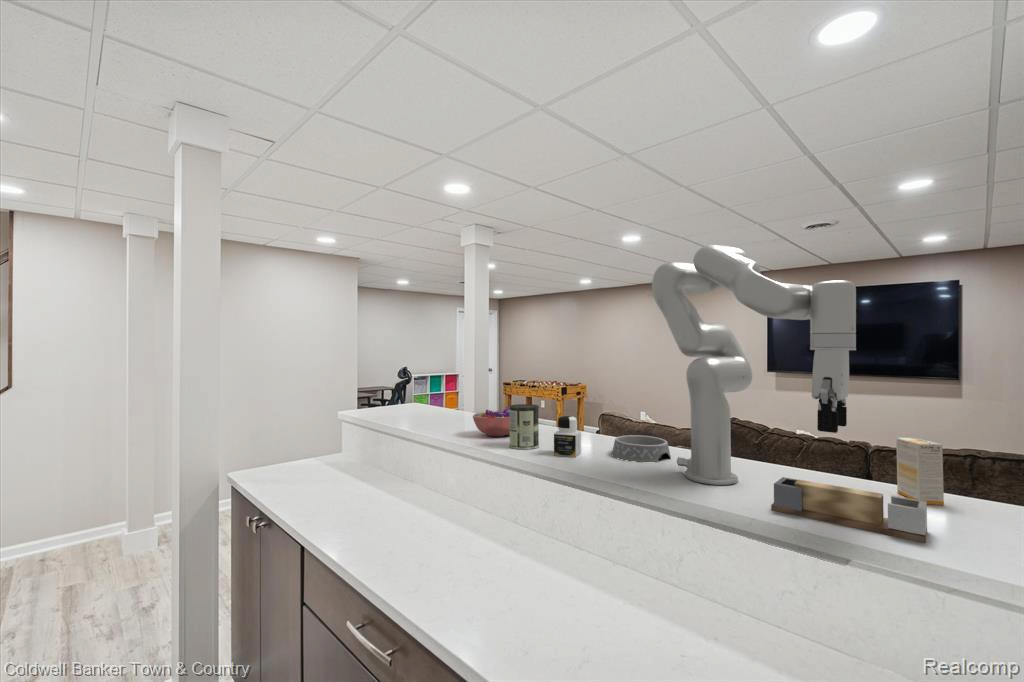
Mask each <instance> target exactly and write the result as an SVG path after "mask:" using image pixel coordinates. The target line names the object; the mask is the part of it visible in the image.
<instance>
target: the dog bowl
mask: <svg viewBox="0 0 1024 682" xmlns="http://www.w3.org/2000/svg"><path fill="white" fill-rule="evenodd" d="M667 454H668V455H667ZM612 455H613V456H614V457H613V456H612ZM664 455H667V456H668V457H669V459H670V460H672V456H671V452H670V447H669V443H668V441H667V440H666V439H663V438H660V437H656V436H652V435H651V436H650V435H641V434H640V435H638V434H636V435H635V434H633V435H632V434H630V435H619V436H617V437H615V438H614V443H613V446H612V451H611V456H612V457H613V458H615V457H616V458H615V459H617V458H619V459H618V460H621V459H623V460H622V461H625V460H628V461H627V462H631V461H636V462H635V463H643V462H655V463H658V462H659V459H661V458H662V457H663V456H664Z"/></svg>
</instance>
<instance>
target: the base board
mask: <svg viewBox="0 0 1024 682" xmlns="http://www.w3.org/2000/svg"><path fill="white" fill-rule="evenodd" d="M770 509H771V511H774V512H775V511H776V512H780V513H784V514H790V515H794V516H799V517H803V518H806V519H807V518H808V519H812V520H817V521H822V522H826V523H831V524H835V525H840V526H845V527H850V528H855V529H858V530H859V529H860V530H863V531H868V532H873V533H878V534H882V535H888V536H891V537H892V536H893V537H896V538H900V539H905V540H911V541H915V542H918V543H924V544H926V541H927V536H928V527H927V528H926V534H925V535H921V534H916V533H911V532H907V531H902V530H897V529H892V528H888V517H884V521H883V523H882V525H878V524H873V523H868V522H863V521H858V520H853V519H849V518H844V517H839V516H834V515H829V514H824V513H819V512H815V511H810V510H805V509H803V510H802V511H798V510H793V509H789V508H784V507H779V506H774V502H773V503H772V504H771V505H770Z"/></svg>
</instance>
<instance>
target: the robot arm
mask: <svg viewBox="0 0 1024 682" xmlns="http://www.w3.org/2000/svg"><path fill="white" fill-rule="evenodd" d="M652 277H653V278H652V282H651V289H652V290H651V291H652V295H653V299H654V300H655V301H654V302H655V303H656V305H657V307H658V309H659V310H660V313H662V315H663V317H664V319H665V320H666V321H665V322H666V323H667V326H668V328H669V330H670V331H671V335H672V336H673V339H674V341H675V342H676V345H677V348H678V349H679V351H680V352H681V353H682V354H683V355H684V356H686V357H689V358H696V359H694V360H692V361H691V362H690V363H689V364H688V366H687V369H686V376H685V377H686V383H687V387H688V394H689V402H690V457H689V458H686V457H677V459H676V463H677V466H678V467H686V470H685V471H684V477H685V478H687V479H688V480H690V481H693V482H696V483H701V484H706V485H715V486H727V485H733V484H737V483H738V481H739V477H738V475H737V474H735V473H734V472H732V448H731V446H732V442H731V440H732V439H731V436H732V435H731V427H732V426H731V424H732V423H731V407H730V405H729V402H728V399H727V397H726V394H725V393H736V392H742V391H744V390H746V389H747V388H748V387H749V386H750V385H751V384H752V382H753V370H752V368H751V365H750V362H749V361H748V358H747V357H746V355H745V353H744V351H743V349H742V347H741V346H740V344H739V341H738V340H737V338H736V336H735V334H734V333H733V331H731V329H729V328H728V327H727V326H726V325H724V324H721V323H716V322H706V321H704V320H703V319H702V317H701V316H700V313H699V312H698V310H697V308H696V306H695V305H694V303H693V302H692V301H691V300H689V298H687V297H686V296H685V295H684V294H685V293H686V294H694V295H695V294H700V295H701V294H707V293H709V292H712V291H714V290H716V289H717V290H718V289H719V288H721V287H723V288H724V289H727V290H728V291H731V292H732V294H733V296H734V297H735V299H736V300H737V301H738V302H739V303H740V304H742V305H743V306H745V307H747V308H748V309H751V310H752V311H754V312H756V313H757V314H759V315H762V316H764V317H767V318H771V319H776V320H777V319H778V320H793V321H794V320H796V321H805V320H806V321H807V320H809V322H810V323H809V325H810V326H809V327H810V329H809V332H810V333H809V334H810V336H809V339H810V340H809V343H810V344H809V345H810V346H809V349H810V351H814V353H813V364H812V379H811V383H812V384H811V397H812V399H814V400H818V404H817V426H816V427H817V431H819V432H824V433H825V432H826V433H831V434H833V433H835V434H836V433H838V432H839V427H846V426H847V424H848V422H847V419H848V418H847V416H848V415H847V411H848V410H847V409H848V408H847V406H846V405H847V401H846V400H847V399H846V398H848V396H849V392H850V391H849V389H850V351H857V334H856V333H857V311H856V310H857V287H856V285H855V283H854V282H852V281H850V280H842V279H841V280H840V279H838V280H837V279H836V280H825V281H819V282H815V283H814V284H813V285H806V284H805V285H804V284H796V283H787V282H786V283H784V282H783V283H782V282H780V281H775V280H772V279H770V278H768V277H767V276H764V275H762V274H761V267H760V264H759V263H758V262H757V261H755V260H753V259H750V258H749V256H748V254H747V253H746V252H745V251H744V250H743V249H741V248H738V247H737V246H736V247H735V246H734V247H733V246H728V245H719V244H708V245H705V246H702V247H701V248H699V249H698V250H697V251H696V252H695V254H694V255H693V259H692V262H684V261H672V262H671V261H670V262H664V263H663V264H661V265H659V266H658V267H657V268H656V270H655V272H654V273H653V276H652Z"/></svg>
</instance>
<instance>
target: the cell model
mask: <svg viewBox="0 0 1024 682" xmlns="http://www.w3.org/2000/svg"><path fill="white" fill-rule="evenodd" d="M472 419H473V421H474V424H475V427H476V428H477V429H478V431H479V432H481V433H482V434H484V435H485V436H489V437H505V435H507V436H510V408H509V406H507V405H505V406H504V409H503V411H499V410H497V411H493V410H490V409H485V411H484V412H483V411H482V412H479V413H478V412H477V413H475V414H473V415H472Z"/></svg>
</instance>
